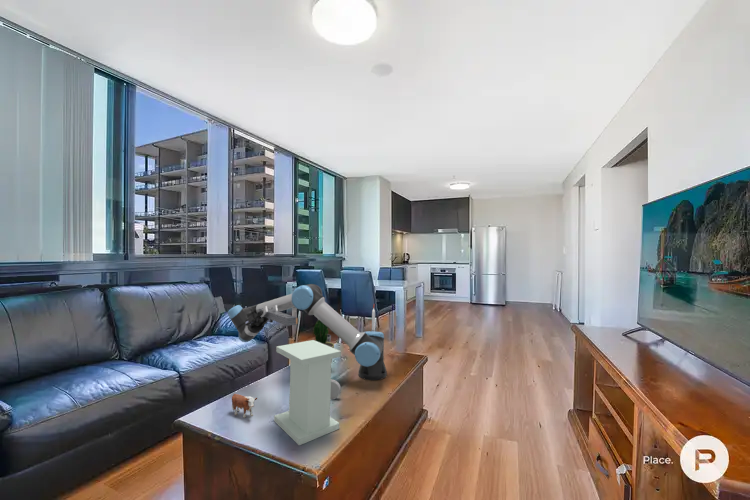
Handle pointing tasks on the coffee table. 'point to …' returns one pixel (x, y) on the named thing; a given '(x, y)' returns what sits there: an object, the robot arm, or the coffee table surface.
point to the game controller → (335, 389)
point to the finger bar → (280, 317)
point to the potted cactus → (322, 334)
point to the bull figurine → (242, 403)
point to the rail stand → (308, 391)
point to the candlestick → (373, 319)
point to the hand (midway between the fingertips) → (271, 308)
